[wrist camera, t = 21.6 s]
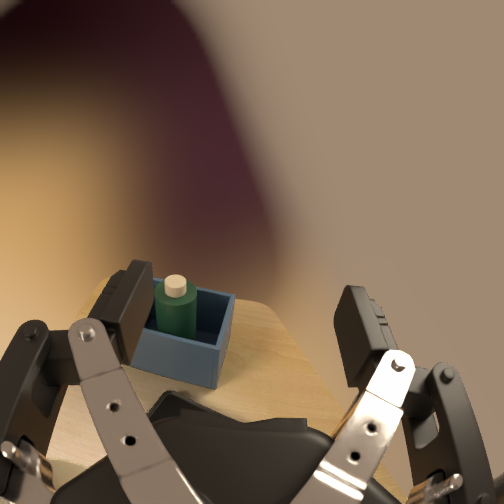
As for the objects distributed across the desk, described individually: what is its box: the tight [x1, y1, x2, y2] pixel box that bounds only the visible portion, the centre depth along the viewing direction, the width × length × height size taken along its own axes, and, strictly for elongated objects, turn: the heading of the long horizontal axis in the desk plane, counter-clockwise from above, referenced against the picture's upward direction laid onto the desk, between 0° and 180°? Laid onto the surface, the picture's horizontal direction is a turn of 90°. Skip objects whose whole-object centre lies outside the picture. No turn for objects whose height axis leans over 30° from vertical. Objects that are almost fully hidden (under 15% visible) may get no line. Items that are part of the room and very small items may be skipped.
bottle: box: [154, 275, 197, 341], centre depth 38 cm, size 5×5×12 cm
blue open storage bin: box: [128, 277, 235, 389], centre depth 40 cm, size 13×10×8 cm
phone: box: [147, 391, 234, 423], centre depth 30 cm, size 8×1×15 cm
